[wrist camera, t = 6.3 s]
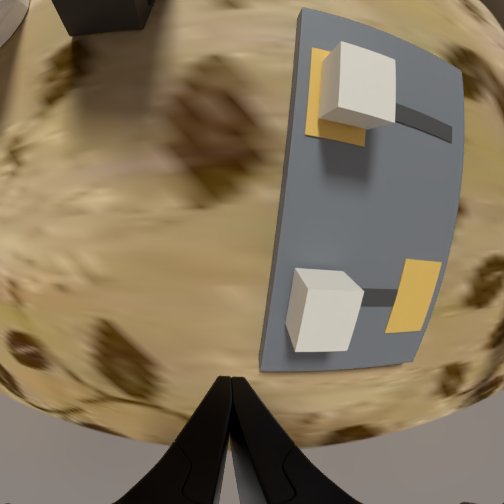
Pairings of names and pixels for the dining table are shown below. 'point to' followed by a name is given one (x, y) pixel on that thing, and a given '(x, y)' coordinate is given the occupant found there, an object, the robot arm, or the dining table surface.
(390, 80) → the slider
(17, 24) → the white cup
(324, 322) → the slider
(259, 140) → the dining table surface
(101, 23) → the phone stand
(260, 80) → the dining table surface
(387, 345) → the switch panel
